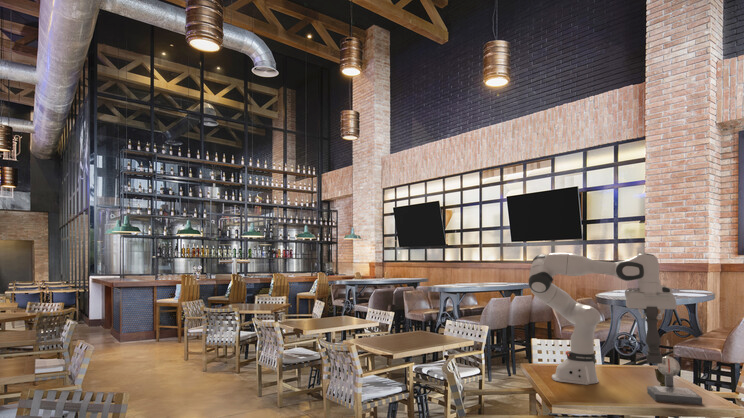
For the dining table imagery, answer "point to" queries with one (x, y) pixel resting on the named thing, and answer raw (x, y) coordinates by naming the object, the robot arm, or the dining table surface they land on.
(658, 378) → the cup
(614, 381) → the dining table surface
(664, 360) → the scale base
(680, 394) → the scale pan
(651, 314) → the candle holder
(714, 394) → the dining table surface
